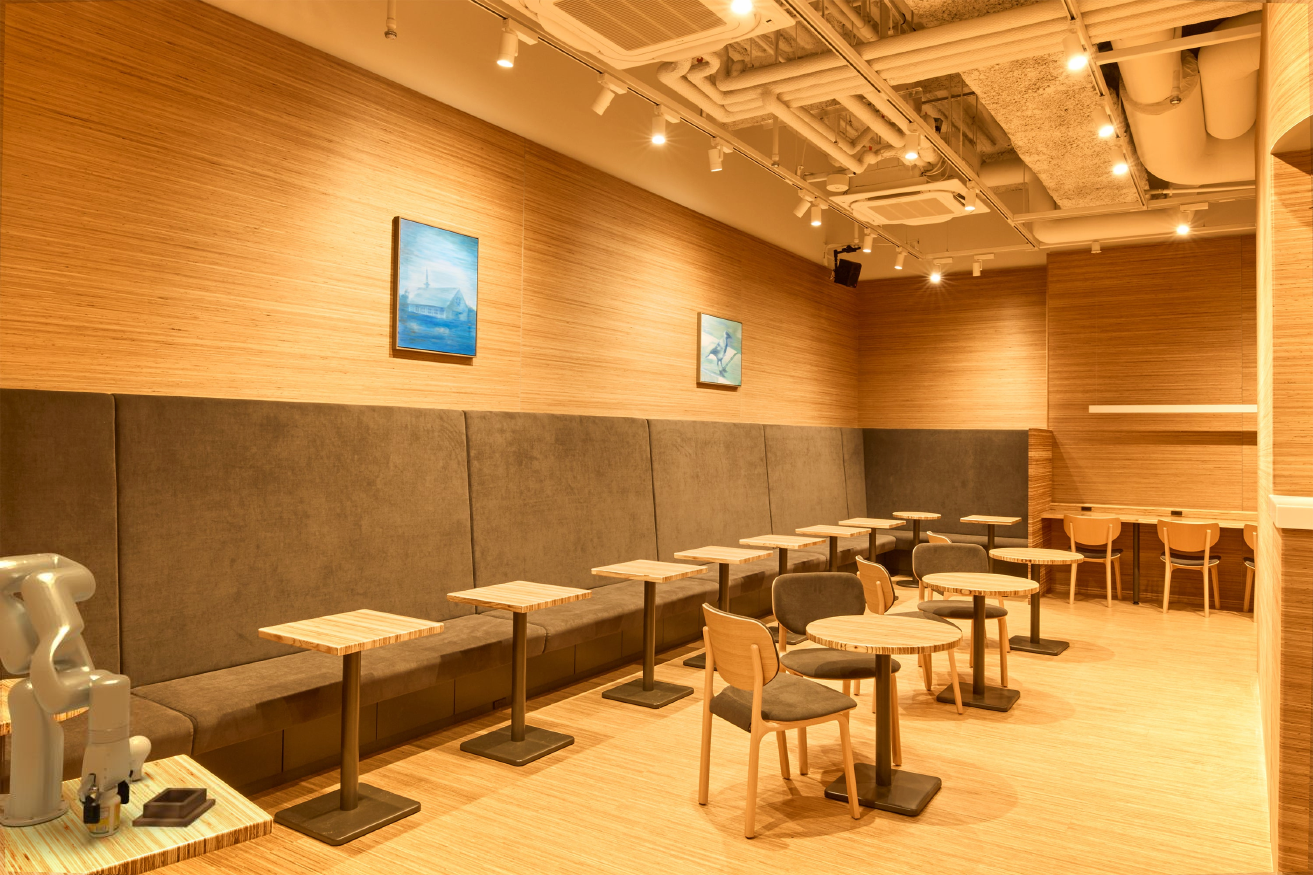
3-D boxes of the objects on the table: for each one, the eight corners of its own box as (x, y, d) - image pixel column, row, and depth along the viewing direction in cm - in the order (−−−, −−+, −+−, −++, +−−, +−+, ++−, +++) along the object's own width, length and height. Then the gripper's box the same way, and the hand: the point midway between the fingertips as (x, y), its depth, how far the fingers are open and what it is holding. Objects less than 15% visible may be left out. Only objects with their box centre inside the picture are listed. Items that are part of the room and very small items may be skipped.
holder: (132, 826, 179) (132, 806, 179) (164, 802, 191) (165, 784, 191) (186, 826, 179) (187, 807, 179) (215, 803, 191) (216, 785, 191)
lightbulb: (135, 786, 200) (137, 741, 200) (113, 783, 201) (115, 739, 201) (156, 776, 206) (157, 733, 206) (134, 774, 207) (136, 730, 208)
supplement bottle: (97, 840, 172) (98, 794, 172) (85, 833, 175) (86, 789, 175) (124, 830, 177) (126, 786, 177) (112, 824, 180) (113, 780, 180)
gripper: (117, 720, 185) (115, 796, 184) (62, 747, 168) (60, 831, 167) (150, 721, 185) (148, 796, 185) (99, 747, 168) (97, 831, 167)
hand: (106, 813), depth 176 cm, fingers open, 9 cm apart
